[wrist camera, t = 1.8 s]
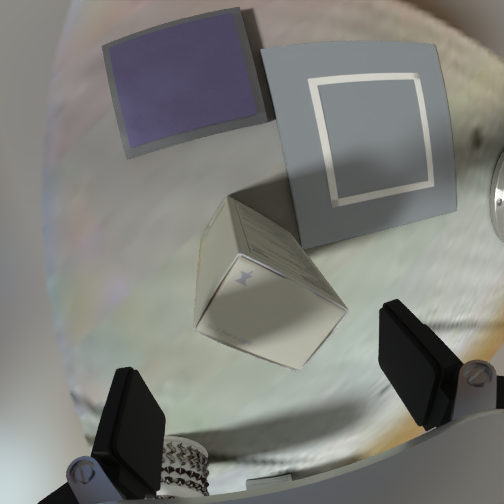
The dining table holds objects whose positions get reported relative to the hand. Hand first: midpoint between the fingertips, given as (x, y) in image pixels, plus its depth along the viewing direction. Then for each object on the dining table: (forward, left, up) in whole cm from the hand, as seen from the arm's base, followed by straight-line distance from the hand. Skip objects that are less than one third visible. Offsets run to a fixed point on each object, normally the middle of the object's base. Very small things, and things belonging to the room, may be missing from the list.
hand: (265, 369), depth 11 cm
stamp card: (-13, -6, -15) cm, 20 cm away
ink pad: (+1, -13, -15) cm, 20 cm away
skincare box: (-1, 0, -15) cm, 15 cm away
